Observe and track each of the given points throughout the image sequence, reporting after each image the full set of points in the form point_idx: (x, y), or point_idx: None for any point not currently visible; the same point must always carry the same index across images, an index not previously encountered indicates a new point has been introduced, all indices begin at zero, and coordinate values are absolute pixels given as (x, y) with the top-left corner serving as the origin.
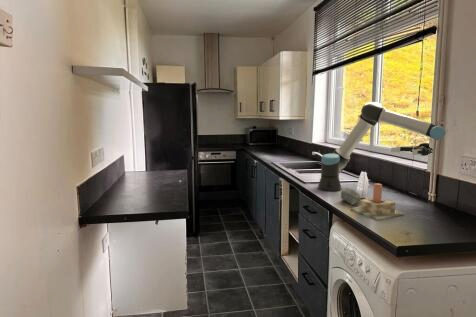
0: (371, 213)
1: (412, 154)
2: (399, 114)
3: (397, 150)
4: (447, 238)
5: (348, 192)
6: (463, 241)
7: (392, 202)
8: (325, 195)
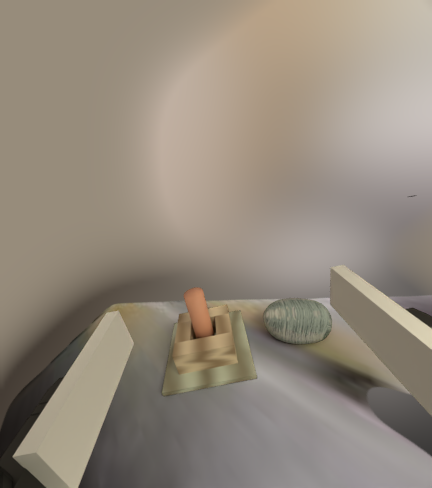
0: None
1: (129, 341)
2: None
3: (389, 355)
4: (54, 373)
5: (278, 300)
6: (26, 388)
7: (178, 352)
8: None
